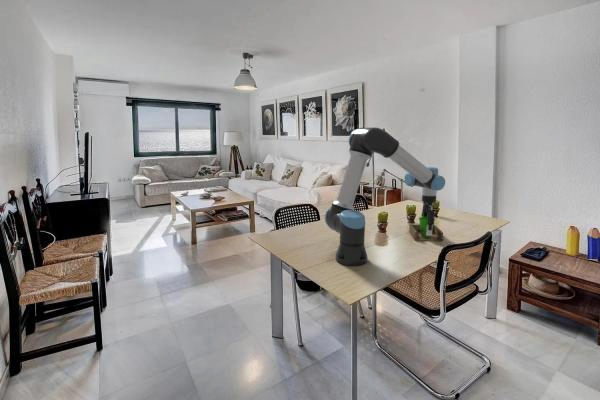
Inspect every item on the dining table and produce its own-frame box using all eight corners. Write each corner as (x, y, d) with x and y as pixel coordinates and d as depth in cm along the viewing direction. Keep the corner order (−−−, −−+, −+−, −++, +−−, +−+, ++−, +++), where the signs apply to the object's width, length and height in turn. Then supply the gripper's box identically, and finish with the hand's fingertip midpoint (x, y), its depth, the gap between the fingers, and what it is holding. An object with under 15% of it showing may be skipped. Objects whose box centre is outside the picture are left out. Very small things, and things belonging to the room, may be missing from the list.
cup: (435, 236, 190) (436, 217, 188) (432, 239, 182) (433, 220, 180) (419, 234, 194) (420, 216, 193) (416, 237, 187) (416, 219, 185)
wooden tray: (414, 240, 184) (415, 232, 183) (408, 232, 199) (409, 224, 198) (442, 241, 182) (443, 232, 181) (434, 232, 198) (435, 224, 197)
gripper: (442, 199, 172) (439, 239, 176) (430, 191, 194) (428, 227, 198) (427, 198, 173) (424, 238, 177) (417, 191, 195) (415, 226, 199)
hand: (426, 232), depth 188 cm, fingers open, 10 cm apart
